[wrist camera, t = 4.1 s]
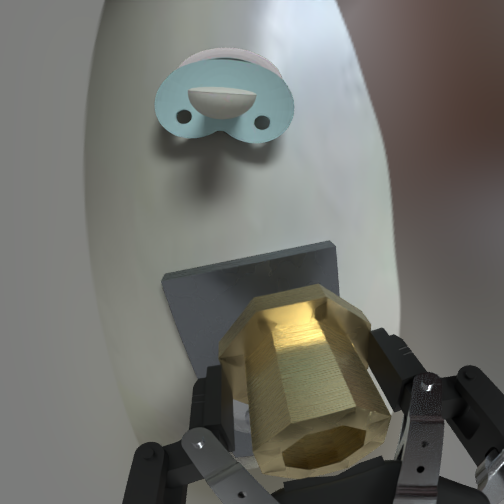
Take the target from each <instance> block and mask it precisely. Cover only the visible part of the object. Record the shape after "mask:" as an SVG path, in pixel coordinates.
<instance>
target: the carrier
mask: <svg viewBox="0 0 504 504" xmlns="http://www.w3.org/2000/svg"><path fill="white" fill-rule="evenodd" d="M161 283H162V286H163V289H164V292H165V295H166V298H167V301H168V303H169V306H170V309H171V312H172V315H173V317H174V320H175V323H176V326H177V328H178V331H179V333H180V336H181V339H182V341H183V344H184V346H185V349H186V351H187V354H188V356H189V359H190V361H191V364H192V366H193V369H194V371H195V373H196V376H197V378H205V377H206V373H207V367H208V366H215V365H220V362H219V359H218V353H219V341H220V340H221V339H222V338H223V336H224V335H225V334H226V333H227V331H228V330H229V329H230V327H231V326H232V325H233V324H234V322H235V321H236V320H237V318H238V317H239V316H240V314H241V313H242V312H243V311H244V309H245V308H246V307H247V305H248V304H249V303H250V301H251V300H252V299H253V298H254V297H259V296H263V295H268V294H273V293H278V292H283V291H287V290H292V289H296V288H301V287H306V286H310V285H314V284H320V285H321V286H323V287H325V288H326V289H328V290H329V291H331V292H333V293H334V294H336V295H337V296H339V281H338V267H337V255H336V246H335V245H334V244H333V243H332V242H331V241H325V242H320V243H315V244H310V245H305V246H301V247H296V248H291V249H286V250H281V251H276V252H271V253H266V254H261V255H256V256H251V257H246V258H241V259H236V260H231V261H226V262H222V263H217V264H212V265H207V266H202V267H197V268H192V269H187V270H182V271H177V272H172V273H166V274H165V275H164V277H163V278H162V280H161ZM339 297H340V296H339ZM233 412H234V437H235V451H233V454H234V456H235V458H236V457H244V456H252V455H254V454H253V450H252V439H251V428H250V417H249V406H248V404H245V403H242V402H239V401H237V400H234V399H233Z"/></svg>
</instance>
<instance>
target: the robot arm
mask: <svg viewBox="0 0 504 504" xmlns="http://www.w3.org/2000/svg"><path fill="white" fill-rule="evenodd" d="M368 365H369V367H370V369H371V371H372V373H373V374H374V376H375V378H376V380H377V382H378V383H379V385H380V387H381V389H382V391H383V392H384V394H385V396H386V398H387V400H388V402H389V404H390V405H391V407H392V409H393V411H394V412H397V411H400V410H402V411H403V413H404V415H403V419H402V425H401V431H400V436H399V441H398V446H397V450H396V453H395V457H394V460H385V461H384V460H383V457H382V456H379V457H376V458H373V459H370V460H367V461H364V462H361V463H359V464H357V465H355V466H353V467H352V468H350V469H348V470H346V471H345V472H342V473H341V474H339V475H336V476H328V477H307V478H302V479H297V480H292V481H287V482H283V483H284V488H282V489H279V490H277V491H275V492H274V493H272V494H271V495H270V494H269V493H268V492H267V491H266V490H265V489H264V488H263V487H262V486H261V485H260V484H259V483H258V482H257V481H256V480H255V479H254V477H253V476H252V475H250V473H249V472H248V471H247V470H246V469H245V468H244V467H243V466H242V465H241V464H240V463H239V462H237V461H236V460H235V459H234V458H233V457H232V456H231V455H230V454H229V452H233V451H235V437H234V412H233V394H232V391H231V388H230V386H229V383H228V380H227V377H226V375H225V372H224V369H223V366H222V365H215V366H208V367H207V373H206V377H205V378H198V380H197V382H196V383H195V385H194V387H193V397H192V405H191V415H190V425H189V431H187V432H186V433H185V434H184V435H183V437H182V439H181V440H180V441H178V442H176V443H173V444H170V445H166V446H163V447H162V446H161V445H160V444H158V443H155V442H147V443H144V444H142V445H141V446H139V447H138V448H137V450H136V451H135V454H134V458H133V462H132V466H131V470H130V474H129V478H128V481H127V486H126V490H125V494H124V499H123V503H122V504H186V495H187V486H188V484H189V483H192V482H195V481H198V480H201V479H205V480H206V482H207V484H208V485H209V486H210V488H211V489H212V490H213V491H214V493H215V494H216V495H217V497H218V498H219V499H220V500H221V502H222V503H223V504H498V503H500V502H501V501H502V500H503V499H504V394H503V393H502V392H501V391H500V390H499V389H498V388H497V387H496V386H495V385H494V383H493V382H492V381H491V380H490V379H489V378H488V377H487V376H486V375H485V374H484V373H483V372H482V371H481V370H480V369H479V368H478V367H476V366H471V365H469V366H464V367H462V368H461V369H460V370H459V371H458V374H457V376H451V377H444V378H440V377H439V376H438V375H437V374H435V373H432V372H427V371H426V370H425V368H424V367H423V366H422V364H421V363H420V362H419V360H418V359H417V358H416V356H415V355H414V354H413V353H412V351H411V350H410V348H408V347H407V345H406V343H405V342H404V341H403V339H401V338H400V337H398V336H396V335H394V334H393V335H390V336H389V335H388V333H387V332H386V331H385V329H384V328H379V329H376V330H372V331H370V332H369V349H368ZM444 419H445V420H446V421H447V423H448V424H449V426H450V427H451V428H452V430H453V431H454V433H455V434H456V436H457V437H458V439H459V440H460V441H461V443H462V444H463V446H464V447H465V449H466V450H467V452H468V453H469V455H470V456H471V458H472V459H473V461H474V462H475V464H476V465H477V469H476V472H475V478H476V484H477V485H478V488H477V489H475V488H471V487H469V486H466V485H463V484H460V483H457V482H455V481H452V480H449V479H447V478H444V477H441V476H439V472H440V465H441V457H442V447H443V437H444Z"/></svg>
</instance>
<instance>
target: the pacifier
mask: <svg viewBox="0 0 504 504" xmlns="http://www.w3.org/2000/svg"><path fill="white" fill-rule="evenodd" d="M182 110H187V111H190V112H191V114H192V119H191V121H190V122H189V123H186V124H181V123H179V122H178V121H177V114H178V113H179V112H180V111H182ZM155 112H156V115H157V118H158V120H159V122H160V124H161V125H162V126H163V127H164V128H165V129H166V130H167V131H169V132H170V133H172V134H174V135H176V136H179V137H184V138H199V137H204V136H207V135H210V134H212V133H214V132H216V131H225V132H226V133H227V134H229V135H230V136H232V137H234V138H236V139H238V140H241V141H243V142H248V143H263V142H268V141H271V140H273V139H275V138H277V137H278V136H280V135H281V134H282V133H284V131H285V130H286V129H287V128H288V127H289V125H290V123H291V121H292V118H293V115H294V100H293V97H292V94H291V92H290V90H289V88H288V86H287V85H286V83H285V82H284V80H283V79H282V76H281V74H280V72H279V70H278V68H276V67H275V66H274V65H273V64H272V63H271V62H270V61H269V60H267V59H266V58H264V57H262V56H260V55H259V54H256V53H253V52H250V51H247V50H243V49H237V48H215V49H209V50H204V51H201V52H199V53H196V54H194V55H192V56H190V57H189V58H187V59H186V60H184V61H183V62H182V63H181V64H180V65H179V66H178V68H177V69H176V70H175V71H173V72H172V73H171V74H170V75H169V76H168V77H167V78H166V79H165V81H164V82H163V83H162V84H161V86H160V88H159V89H158V92H157V94H156V98H155ZM259 116H265V117H267V118H268V119H269V121H270V125H269V127H268V128H267V129H265V130H260V129H258V128H256V127H255V125H254V121H255V119H256V118H257V117H259Z"/></svg>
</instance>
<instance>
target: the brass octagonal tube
mask: <svg viewBox="0 0 504 504" xmlns="http://www.w3.org/2000/svg"><path fill="white" fill-rule="evenodd" d="M370 331H371V324H370V322H369V321H368V319H367V318H366V317H365V315H364V314H363V312H362V311H361V310H359V309H358V308H356V307H355V306H353V305H351V304H350V303H348V302H347V301H345V300H344V299H342V298H340V297H339V296H337V295H336V294H334V293H333V292H331V291H329V290H328V289H326V288H325V287H323V286H321V285H320V284H314V285H310V286H306V287H301V288H296V289H292V290H287V291H283V292H278V293H273V294H268V295H263V296H259V297H254V298H253V299H252V300H251V301H250V303H249V304H248V305H247V307H246V308H245V309H244V311H243V312H242V313H241V314H240V316H239V317H238V318H237V320H236V321H235V322H234V324H233V325H232V326H231V327H230V329H229V330H228V331H227V333H226V334H225V335H224V336H223V338H222V339H221V340H220V341H219V353H218V359H219V362H220V365H222V366H223V369H224V372H225V375H226V377H227V380H228V383H229V386H230V388H231V391H232V394H233V399H234V400H237V401H239V402H242V403H245V404H248V406H249V417H250V428H251V439H252V450H253V454H254V456H255V458H256V460H257V463H258V465H259V467H260V469H261V472H262V473H263V474H266V475H272V476H278V477H285V478H293V479H302V478H307V477H315V476H320V475H324V474H327V473H331V472H335V471H338V470H342V469H345V468H348V467H350V466H351V465H353V464H354V463H356V462H357V461H359V460H360V459H362V458H363V457H365V456H366V455H368V454H369V453H371V452H372V451H373V450H375V449H376V448H377V447H379V446H380V445H381V444H383V443H384V440H385V437H386V434H387V430H388V426H389V423H390V420H391V415H390V413H389V411H388V409H387V407H386V405H385V403H384V401H383V399H382V397H381V395H380V394H379V392H378V390H377V388H376V386H375V384H374V382H373V381H372V379H371V377H370V375H369V373H368V371H367V369H368V349H369V332H370Z"/></svg>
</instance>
